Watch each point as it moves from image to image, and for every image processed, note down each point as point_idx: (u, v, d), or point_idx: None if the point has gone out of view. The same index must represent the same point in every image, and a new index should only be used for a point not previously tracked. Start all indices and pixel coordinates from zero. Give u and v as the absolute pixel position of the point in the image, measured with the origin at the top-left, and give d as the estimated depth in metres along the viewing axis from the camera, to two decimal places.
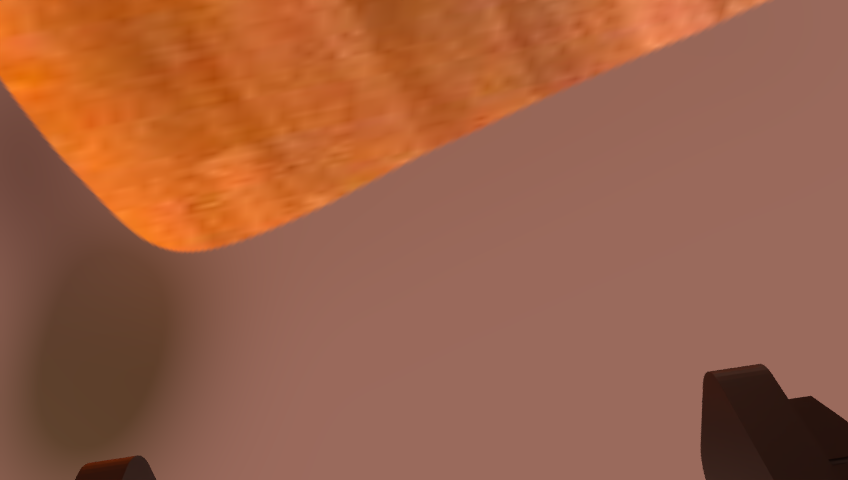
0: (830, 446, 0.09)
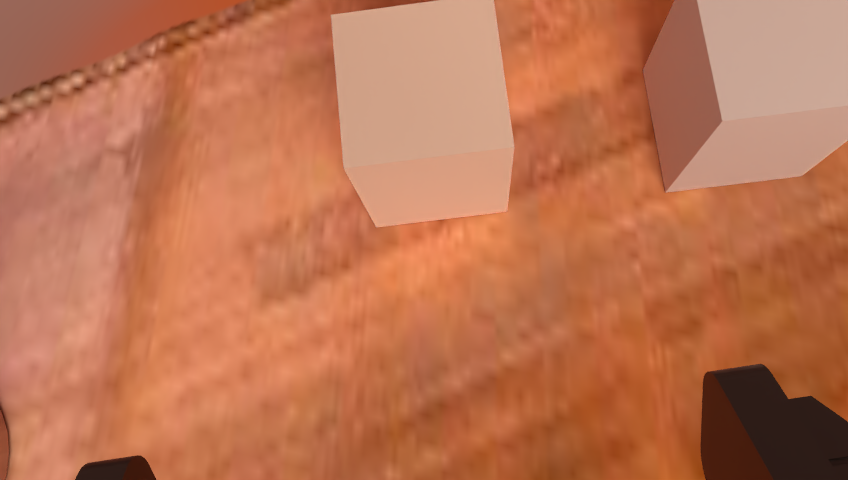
0: (830, 446, 0.09)
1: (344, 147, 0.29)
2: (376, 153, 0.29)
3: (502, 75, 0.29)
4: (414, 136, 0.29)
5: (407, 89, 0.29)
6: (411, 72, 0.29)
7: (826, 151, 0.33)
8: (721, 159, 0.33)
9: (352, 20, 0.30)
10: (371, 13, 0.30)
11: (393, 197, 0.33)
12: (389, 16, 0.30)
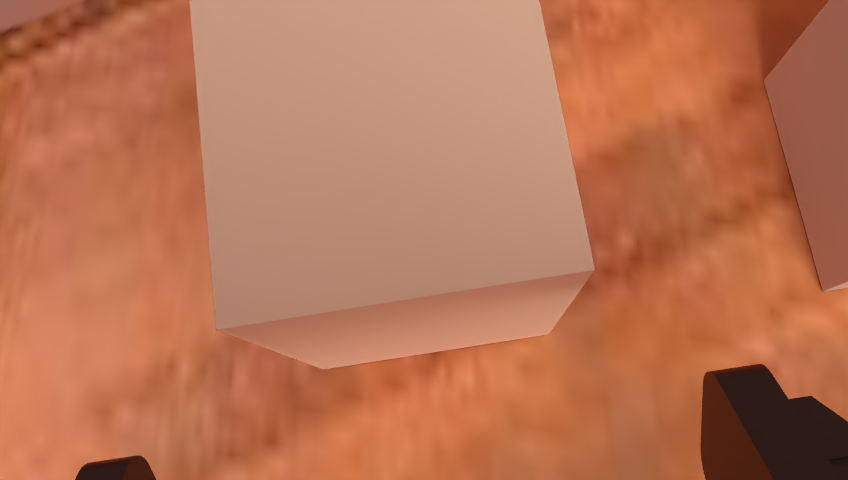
0: (830, 446, 0.09)
1: (217, 281, 0.13)
2: (288, 293, 0.13)
3: (557, 109, 0.13)
4: (370, 251, 0.13)
5: (353, 146, 0.13)
6: (360, 109, 0.14)
7: None
8: None
9: (234, 4, 0.14)
10: None
11: (341, 345, 0.17)
12: None
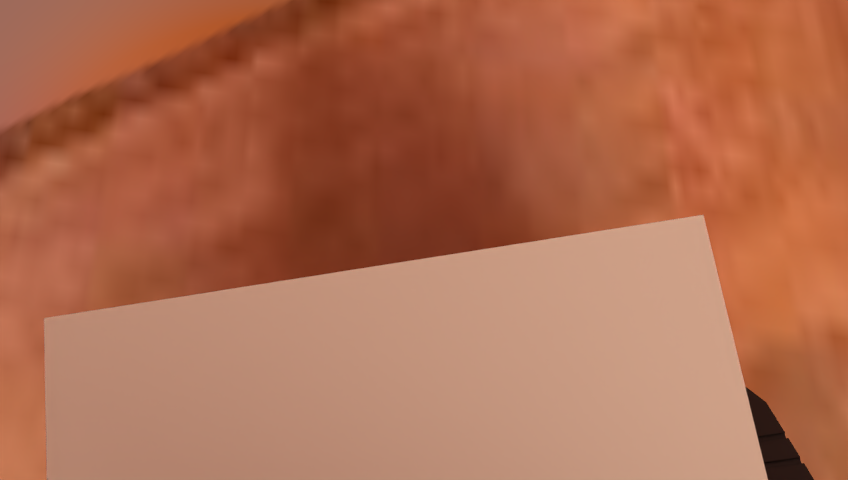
0: None
1: None
2: None
3: None
4: None
5: None
6: None
7: None
8: None
9: (128, 343, 0.07)
10: (206, 309, 0.07)
11: None
12: (279, 324, 0.07)
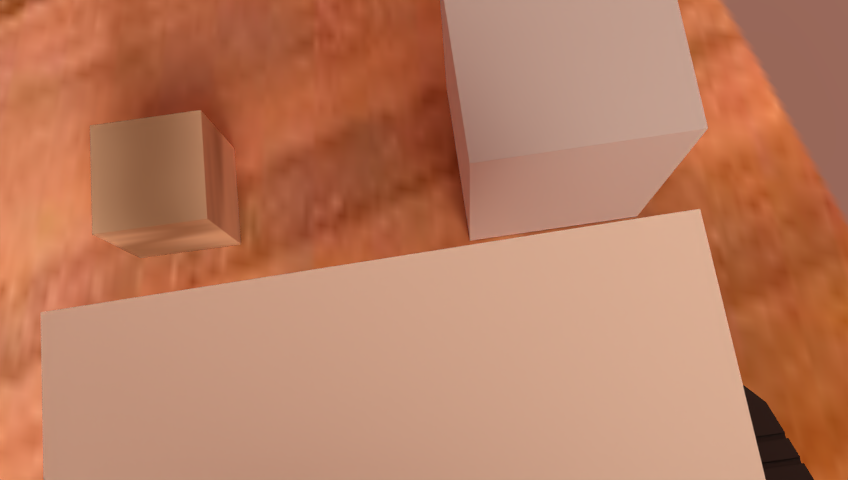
0: None
1: None
2: None
3: None
4: None
5: None
6: None
7: (648, 190, 0.26)
8: (511, 205, 0.25)
9: (125, 337, 0.07)
10: (203, 303, 0.07)
11: None
12: (275, 318, 0.07)
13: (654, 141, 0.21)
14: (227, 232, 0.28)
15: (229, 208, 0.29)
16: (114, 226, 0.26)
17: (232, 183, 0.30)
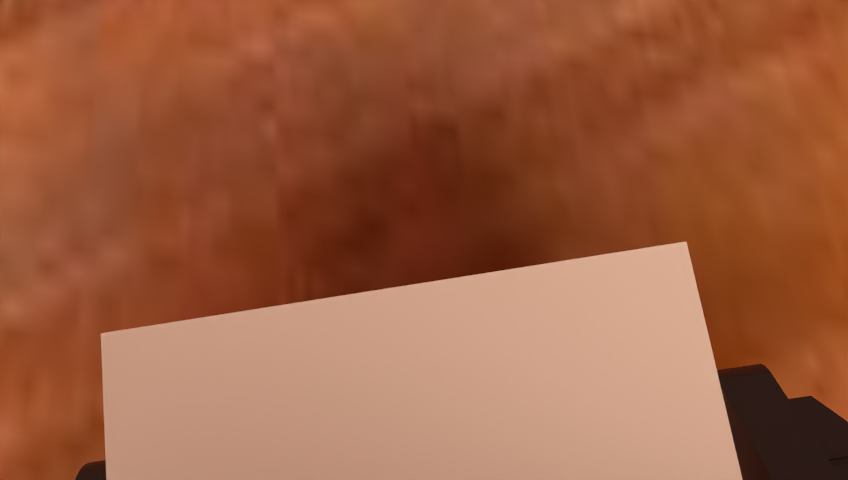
0: (830, 446, 0.09)
1: None
2: None
3: None
4: None
5: None
6: None
7: None
8: None
9: (177, 355, 0.08)
10: (246, 326, 0.08)
11: None
12: (310, 338, 0.08)
13: None
14: None
15: None
16: None
17: None
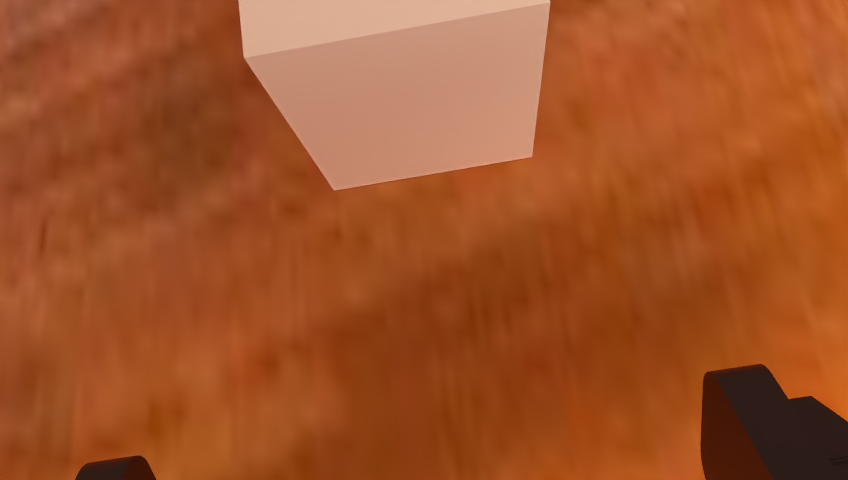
0: (830, 446, 0.09)
1: (245, 21, 0.16)
2: (302, 28, 0.16)
3: None
4: None
5: None
6: None
7: None
8: None
9: None
10: None
11: (348, 129, 0.20)
12: None
13: None
14: None
15: None
16: None
17: None
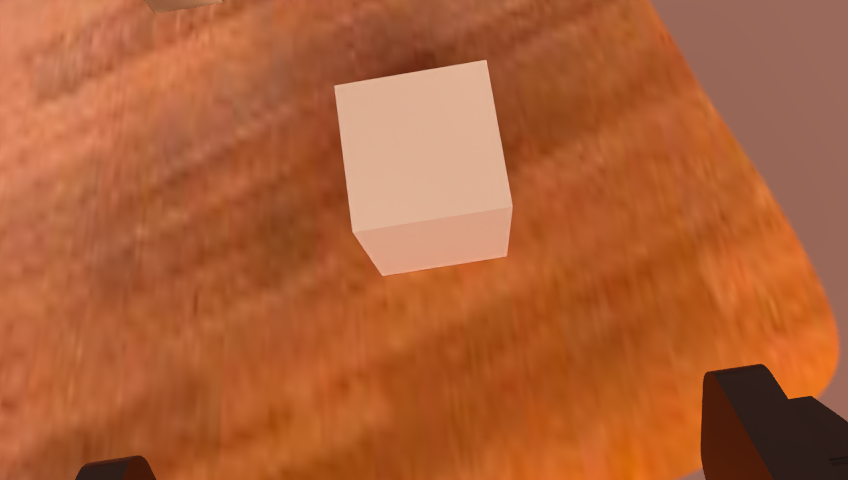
0: (830, 446, 0.09)
1: (352, 212, 0.31)
2: (382, 216, 0.30)
3: (498, 138, 0.31)
4: (418, 199, 0.30)
5: (410, 154, 0.31)
6: (412, 138, 0.31)
7: None
8: None
9: (355, 90, 0.32)
10: (372, 82, 0.32)
11: (398, 252, 0.35)
12: (389, 85, 0.32)
13: None
14: None
15: None
16: None
17: None
